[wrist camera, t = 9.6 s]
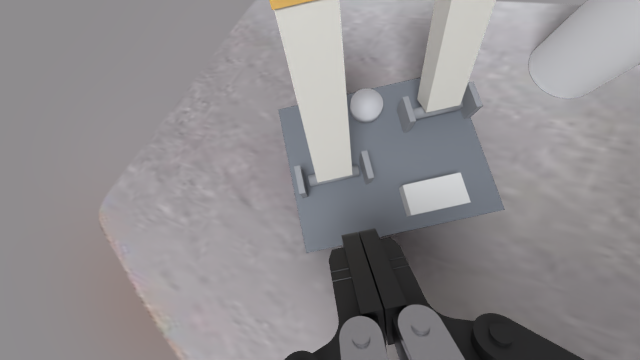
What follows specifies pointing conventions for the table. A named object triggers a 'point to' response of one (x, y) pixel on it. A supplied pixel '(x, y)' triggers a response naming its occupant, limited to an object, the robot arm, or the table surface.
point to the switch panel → (393, 168)
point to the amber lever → (318, 82)
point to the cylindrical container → (588, 48)
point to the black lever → (451, 54)
